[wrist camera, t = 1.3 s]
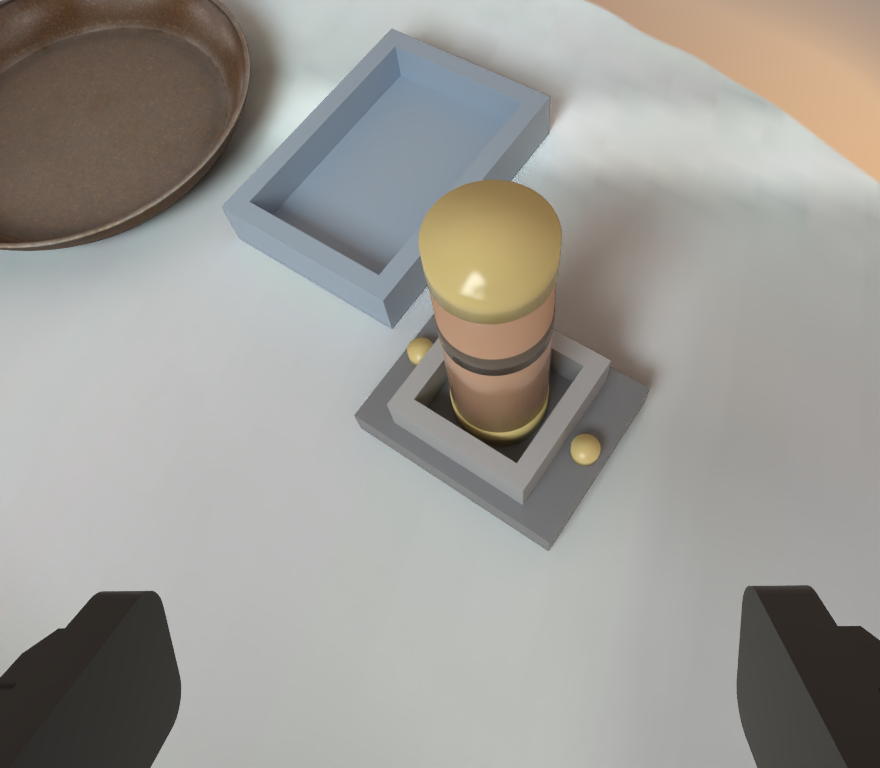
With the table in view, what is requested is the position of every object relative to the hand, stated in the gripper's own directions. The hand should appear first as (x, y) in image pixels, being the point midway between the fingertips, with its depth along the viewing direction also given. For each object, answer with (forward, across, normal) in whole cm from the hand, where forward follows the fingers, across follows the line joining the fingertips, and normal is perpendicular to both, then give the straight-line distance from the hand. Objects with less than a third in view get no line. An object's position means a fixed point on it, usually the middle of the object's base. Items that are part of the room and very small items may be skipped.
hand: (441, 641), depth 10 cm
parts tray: (+32, +5, -4) cm, 33 cm away
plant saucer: (+36, +23, -7) cm, 43 cm away
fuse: (+22, 0, +5) cm, 22 cm away
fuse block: (+23, 0, +6) cm, 24 cm away
